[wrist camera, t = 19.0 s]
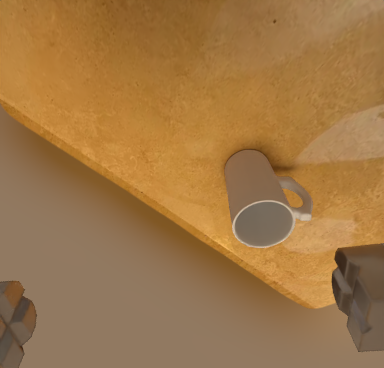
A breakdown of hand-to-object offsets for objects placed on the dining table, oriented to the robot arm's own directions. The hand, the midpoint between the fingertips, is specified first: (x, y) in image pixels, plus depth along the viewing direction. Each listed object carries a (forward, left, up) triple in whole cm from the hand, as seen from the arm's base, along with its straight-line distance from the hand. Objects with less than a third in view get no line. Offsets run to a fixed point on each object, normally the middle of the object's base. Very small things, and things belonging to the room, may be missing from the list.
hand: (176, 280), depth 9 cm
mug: (+8, -18, -34) cm, 40 cm away
